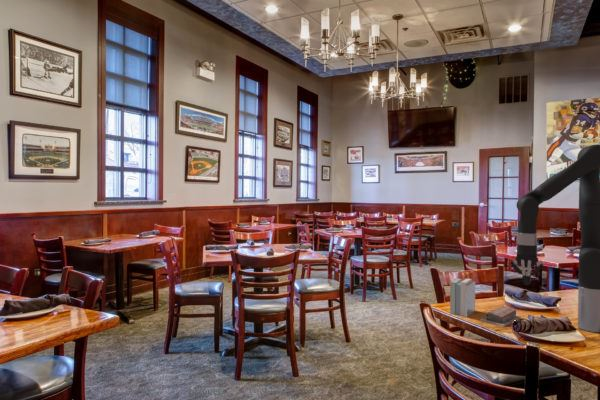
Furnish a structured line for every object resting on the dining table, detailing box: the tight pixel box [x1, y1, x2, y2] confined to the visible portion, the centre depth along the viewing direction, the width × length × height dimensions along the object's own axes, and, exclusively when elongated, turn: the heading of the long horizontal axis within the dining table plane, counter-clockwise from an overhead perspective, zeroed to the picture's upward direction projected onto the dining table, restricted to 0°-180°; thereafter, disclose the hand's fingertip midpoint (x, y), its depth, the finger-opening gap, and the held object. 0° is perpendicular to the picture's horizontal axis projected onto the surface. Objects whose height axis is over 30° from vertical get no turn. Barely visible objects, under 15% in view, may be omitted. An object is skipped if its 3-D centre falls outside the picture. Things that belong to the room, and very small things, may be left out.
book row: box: [449, 278, 473, 317], centre depth 192 cm, size 7×10×15 cm
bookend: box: [450, 280, 476, 318], centre depth 192 cm, size 8×14×14 cm, turn 143°
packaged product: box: [480, 306, 522, 328], centre depth 181 cm, size 18×5×10 cm
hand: (526, 284), depth 175 cm, fingers closed
